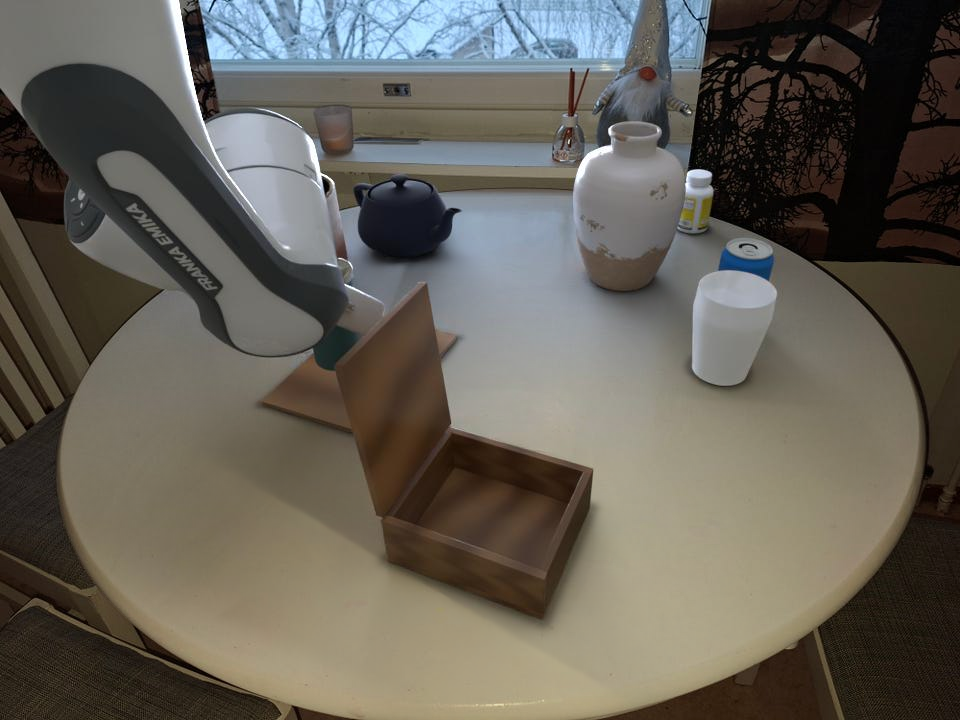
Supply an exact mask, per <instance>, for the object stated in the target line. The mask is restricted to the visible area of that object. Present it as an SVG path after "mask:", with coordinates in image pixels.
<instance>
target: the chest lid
mask: <svg viewBox="0 0 960 720" xmlns="http://www.w3.org/2000/svg"><path fill="white" fill-rule="evenodd" d="M432 308H433V307H432V303H431V298H430V291H429V285H428V282H424V281H418V283H417V284H416V285H415V286H414V287H413V288H412V289H410V290H409V291H408V292H407V294H406V295H404V296H403V298H401V299H400V300H399V301H398V302H397V303H396V304H395V305H394V306H393V307H392V308H391V309H390V310H389V311H388V312H387V313H386V314H385V315H383V316H382V317H383V318H382V319H381V320H380V321H379V322H378V323H377V324H376V325H375V326H374V327H373V328H372V329H371V330H370V331H369V332H368V333H367V334H366V335H364V336H363V337H362V338H361V339H360V340H359V341H358V342H357V343H356V344H355V345H354V346H353V347H352V348H351V349H350V350H349V351H348V352H347V353H346V354H345V355H344V356H343V357H342V358H341V359H340V360H339V361H338V362H337V363H336V364H335V365H334V369H335V372H336V376H337V379H338V383H339V386H340V390H341V393H342V397H343V400H344V404H345V407H346V411H347V414H348V418H349V422H350V425H351V429H352V432H353V433H352V435H353V439H354V442H355V446H356V450H357V454H358V456H359V460H360V463H361V467H362V470H363V474H364V477H365V481H366V484H367V488H368V492H369V495H370V498H371V502H372V506H373V509H374V512H375V516H376V517H379V518H381V519H382V518H384V516H385V515H386V514H387V512H388V511H389V509H390V508H391V507H392V505H393V504H394V503H395V501H396V500H397V498H398V497H399V496H400V494H401V493H402V491H403V490H404V489H405V487H406V486H407V485H408V483H409V482H410V480H411V479H412V478H413V476H414V475H415V473H416V472H417V471H418V469H419V468H420V467H421V465H422V464H423V462H424V461H425V460H426V458H427V457H428V455H429V454H430V453H431V451H432V450H433V449H434V447H435V446H436V444H437V443H438V442H439V440H440V439H441V437H442V436H443V435H444V433H445V432H446V431H447V429H448V428H449V427H451V425H452V417H451V412H450V406H449V401H448V395H447V389H446V383H445V378H444V371H443V365H442V360H441V359H440V354H439V348H438V342H437V337H436V331H435V330H436V325H435V319H434V314H433V309H432Z"/></svg>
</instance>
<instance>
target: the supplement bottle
mask: <svg viewBox="0 0 960 720" xmlns="http://www.w3.org/2000/svg"><path fill="white" fill-rule="evenodd" d="M712 179H713V173H712V172H711V171H708V170H707V169H706V170H705V169H691V170H689V171H688V172H687V174H686V177H685V182H686V194H685V202H684V207H683V211H682V214H681V218H680V221H679V224H678V227H677V230H678V231H680V232H683V233H684V234H685V233H686V234H702V233H704V232H705V231H707V229H708V226H709V221H710V215H711V209H712V203H713V198H714V188H713V186H712V185H710V184H711V183H712Z"/></svg>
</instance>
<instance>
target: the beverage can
mask: <svg viewBox="0 0 960 720" xmlns="http://www.w3.org/2000/svg"><path fill="white" fill-rule="evenodd" d="M773 251H774V250H773V248H772V246H771V245H770V244H769V243H767V242H765V241H763V240H760V239H757V238H752V237H751V238H750V237H739V238H733V239H731V240H729V241H728V242H727V243H726V245H725V247H724V248H723V250H722V251H721V254H720V258H719V259H720V260H719V262H718V263H719V264H718V268H717V271H724V270H733V271H742V272H747V273H751V274H754V275H757V276H759V277H762V278H764V279H765V280H767V281H769V282H770V279H771V274H772V271H773V268H774V267H773V266H774V263H775V257H774V254H773Z"/></svg>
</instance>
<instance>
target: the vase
mask: <svg viewBox="0 0 960 720" xmlns="http://www.w3.org/2000/svg"><path fill="white" fill-rule="evenodd" d="M662 134H663V131H662V129H661V127H660V126H659V125H656V124H654V123H652V122H651V123H650V122H645V121H634V120H633V121H631V120H630V121H621V122H618V123H615V124H613V125H611V126H610V127H609V128H608V136H609V137H610V144H608V145H605V146H601V147H599V148H597V149H595V150H593V151H591V152H589V153H588V154H587V155H586V156H585V157H584V158H583V160H582V161H581V163H580V165H579V167H578V169H577V172H576V175H575V180H574V183H573V193H572V194H573V195H572V207H573V208H572V209H573V221H574V228H575V234H576V240H577V245H578V250H579V253H580V256H581V259H582V262H583V265H584V268H585V271H586V273H587V275H588V277H589V278H590V280H591V281H592V283H594V284H595V285H597V286H599V287H601V288H604V289H606V290H611V291H617V292H628V291H629V292H631V291H636V290H639V289H642V288H644V287H646V286H648V285H649V284H650V283H651V282H652V280H653V278H654V277H655V276H656V274H657V272H658V271H659V269H660V268H661V266H662V264H663V262H664V261H665V259H666V257H667V255H668V253H669V251H670V250H671V246H672V244H673V241H674V238H675V236H676V233H677V231H678V228H677V227H678V224H679V221H680V218H681V214H682V211H683V207H684V202H685V194H686V183H687V182H686V176H685V170H684V167H683V165H682V163H681V161H680V159H679V158H678V157H677V156H676V155H674V154H673V153H671V152H670V151H668V150H667V149H664V148H661V147H658V141H659V139H661V137H662V136H663V135H662Z"/></svg>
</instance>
